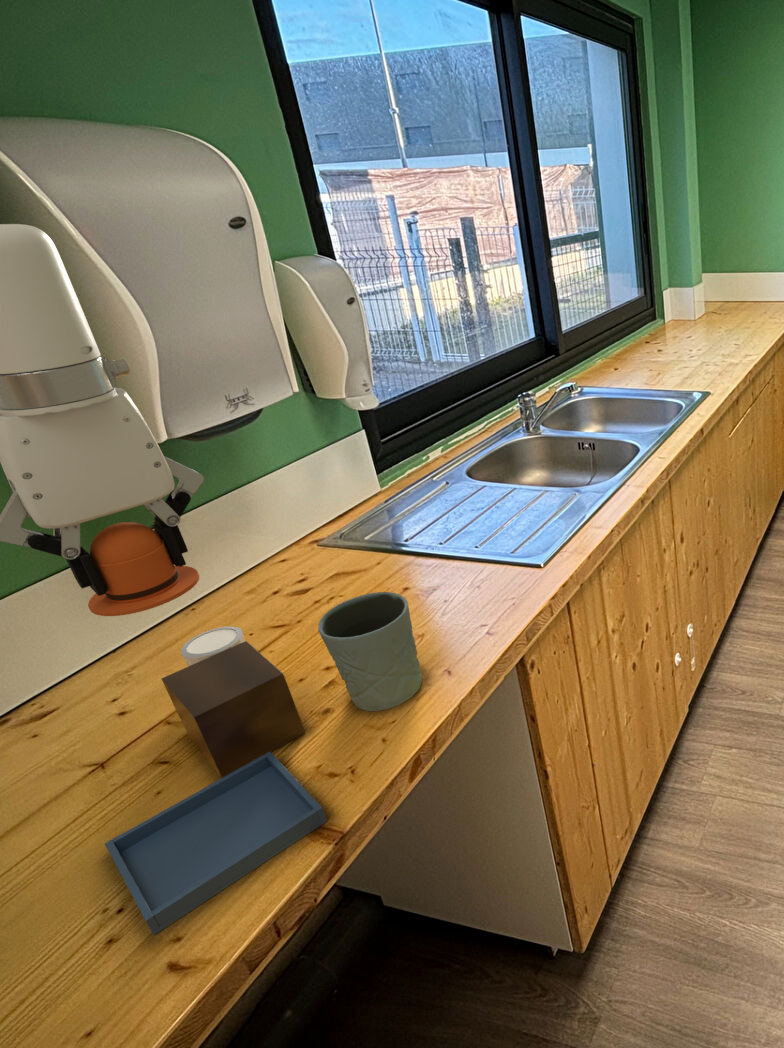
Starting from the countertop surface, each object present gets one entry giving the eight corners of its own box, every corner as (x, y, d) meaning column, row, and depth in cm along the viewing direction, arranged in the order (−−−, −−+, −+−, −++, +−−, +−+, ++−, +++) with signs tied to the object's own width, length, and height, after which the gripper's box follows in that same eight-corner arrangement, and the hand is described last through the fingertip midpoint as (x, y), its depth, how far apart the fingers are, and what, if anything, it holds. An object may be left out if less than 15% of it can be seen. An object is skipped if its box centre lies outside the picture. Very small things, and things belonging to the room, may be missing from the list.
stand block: (222, 779, 78) (194, 717, 74) (189, 737, 85) (161, 678, 81) (305, 733, 85) (283, 673, 81) (268, 697, 91) (246, 640, 87)
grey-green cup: (442, 669, 95) (423, 594, 90) (398, 721, 86) (374, 640, 81) (376, 663, 97) (353, 589, 92) (326, 713, 88) (298, 634, 83)
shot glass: (186, 695, 92) (166, 652, 89) (233, 664, 98) (216, 622, 95) (226, 704, 90) (207, 660, 87) (271, 671, 96) (255, 629, 93)
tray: (154, 935, 62) (145, 920, 61) (112, 857, 70) (104, 843, 69) (328, 821, 72) (322, 807, 72) (275, 764, 80) (269, 751, 79)
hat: (105, 627, 61) (70, 556, 58) (78, 597, 65) (44, 531, 62) (213, 584, 67) (186, 519, 64) (181, 560, 71) (155, 498, 68)
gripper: (159, 359, 66) (225, 531, 73) (-103, 406, 54) (8, 605, 61) (188, 368, 62) (255, 549, 69) (-89, 421, 49) (28, 633, 57)
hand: (138, 574), depth 65 cm, fingers closed on hat, 5 cm apart
